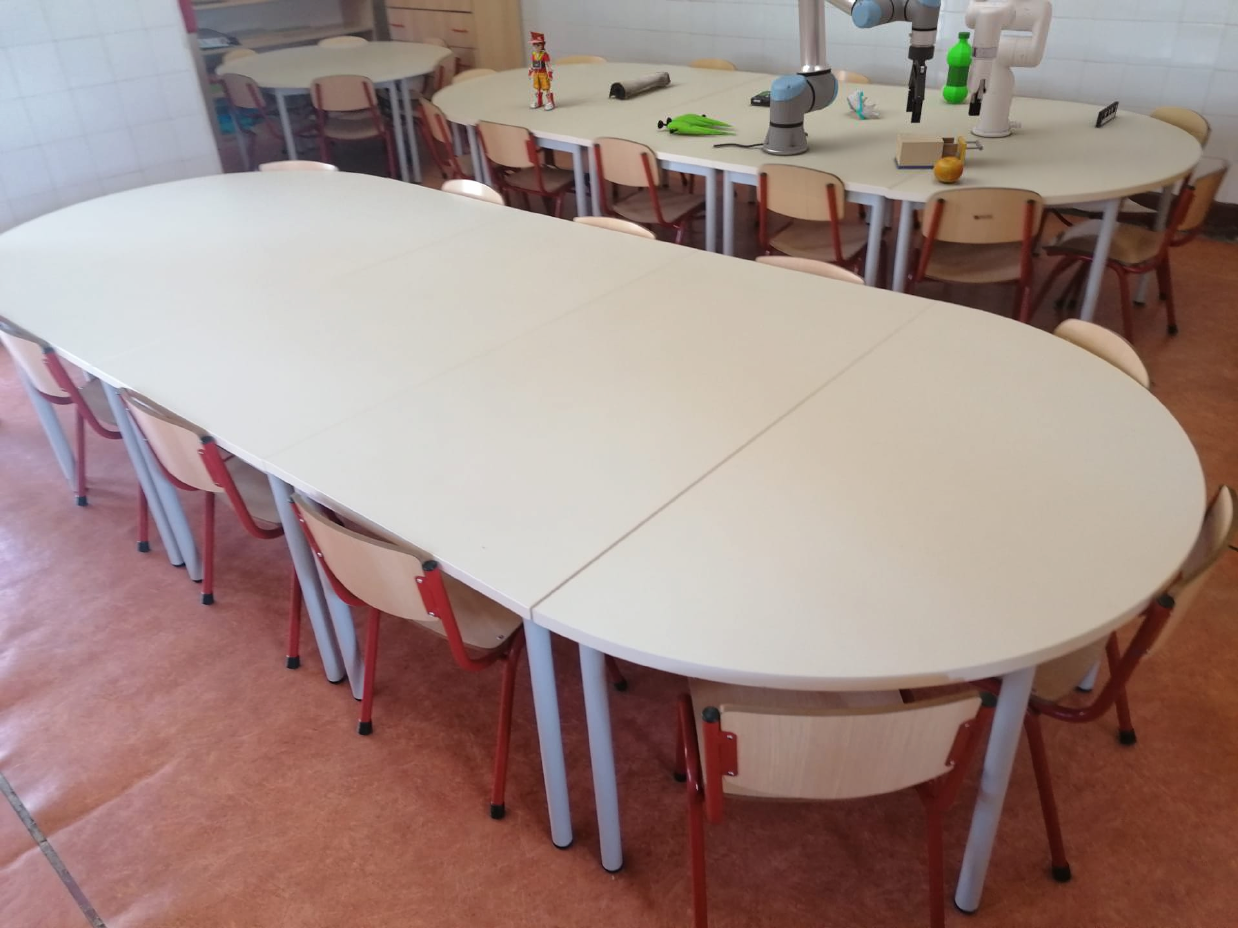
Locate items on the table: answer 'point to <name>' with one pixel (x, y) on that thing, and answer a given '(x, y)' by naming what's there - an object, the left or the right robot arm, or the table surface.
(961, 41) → the plastic bottle
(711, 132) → the toy
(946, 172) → the fruit
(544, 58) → the toy
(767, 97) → the disk drive
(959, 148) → the drawer
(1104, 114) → the midi keyboard
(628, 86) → the rolled mat
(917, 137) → the cabinet
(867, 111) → the anatomical model
